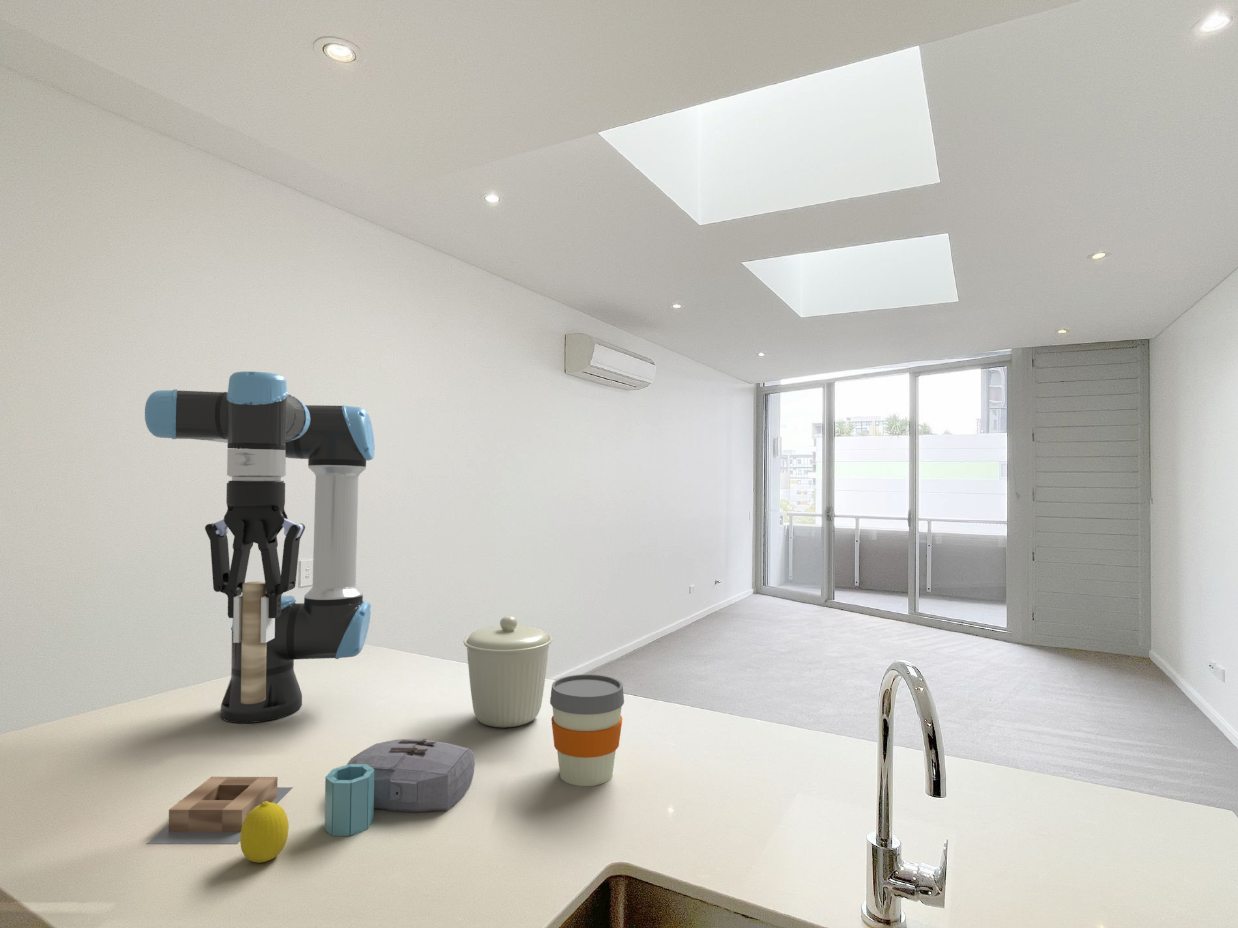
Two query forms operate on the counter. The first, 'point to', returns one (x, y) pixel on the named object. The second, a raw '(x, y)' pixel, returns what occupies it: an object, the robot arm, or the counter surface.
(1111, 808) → the counter surface
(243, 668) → the dowel
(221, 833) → the tray
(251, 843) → the lemon
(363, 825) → the cup
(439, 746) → the grey rounded bag
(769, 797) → the counter surface
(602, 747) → the reusable coffee cup
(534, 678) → the canister
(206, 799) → the frame
